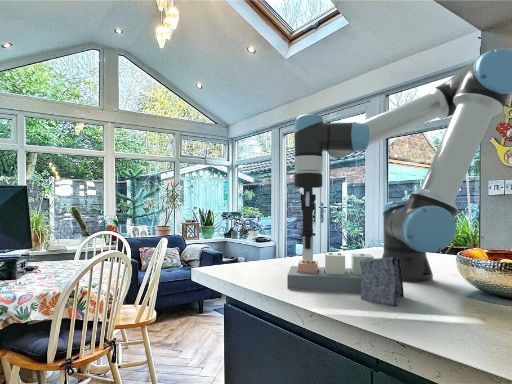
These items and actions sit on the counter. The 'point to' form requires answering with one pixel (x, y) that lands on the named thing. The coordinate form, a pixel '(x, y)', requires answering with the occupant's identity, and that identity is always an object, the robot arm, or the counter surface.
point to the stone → (381, 280)
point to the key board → (324, 281)
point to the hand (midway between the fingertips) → (307, 260)
